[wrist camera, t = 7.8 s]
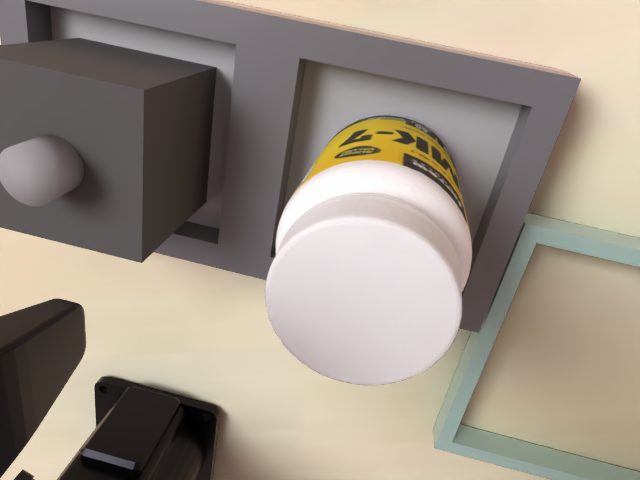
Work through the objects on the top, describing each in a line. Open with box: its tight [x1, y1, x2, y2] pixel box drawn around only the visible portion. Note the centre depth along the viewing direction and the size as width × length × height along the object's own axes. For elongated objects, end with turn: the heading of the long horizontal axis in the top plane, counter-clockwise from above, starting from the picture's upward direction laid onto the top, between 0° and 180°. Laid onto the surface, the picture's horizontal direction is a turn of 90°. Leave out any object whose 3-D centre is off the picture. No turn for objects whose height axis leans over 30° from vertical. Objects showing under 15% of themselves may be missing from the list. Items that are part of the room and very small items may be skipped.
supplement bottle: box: [265, 114, 472, 385], centre depth 14 cm, size 5×5×8 cm
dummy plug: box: [0, 38, 217, 263], centre depth 15 cm, size 5×5×6 cm
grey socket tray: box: [0, 0, 581, 333], centre depth 18 cm, size 9×18×2 cm, turn 80°
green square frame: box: [434, 213, 640, 480], centre depth 20 cm, size 11×11×1 cm
